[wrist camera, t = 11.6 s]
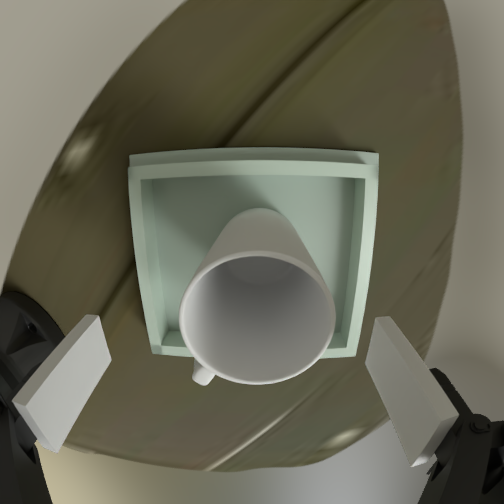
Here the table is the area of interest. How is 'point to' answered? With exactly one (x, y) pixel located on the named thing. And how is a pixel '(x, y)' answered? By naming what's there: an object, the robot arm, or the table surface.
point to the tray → (243, 198)
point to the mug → (256, 304)
